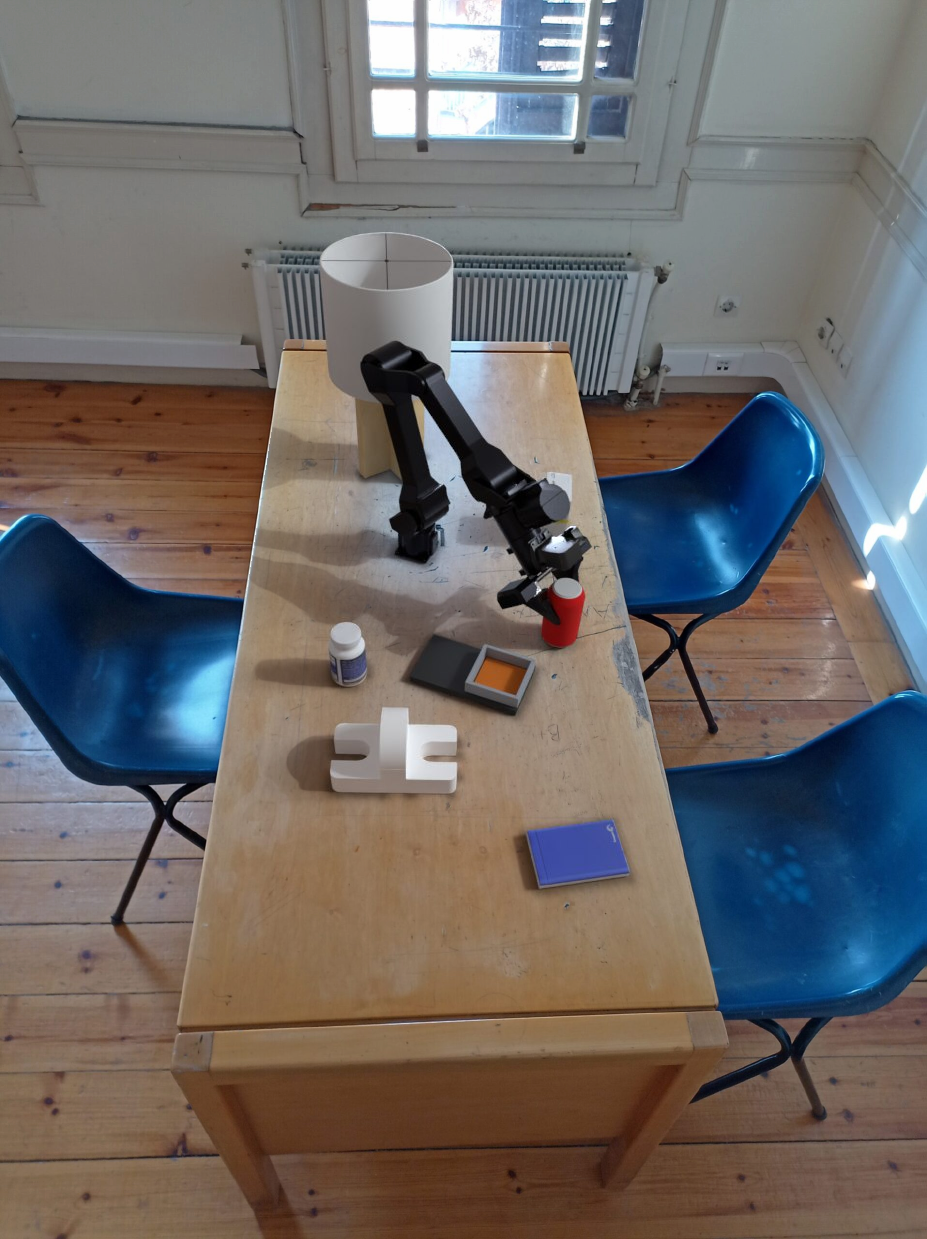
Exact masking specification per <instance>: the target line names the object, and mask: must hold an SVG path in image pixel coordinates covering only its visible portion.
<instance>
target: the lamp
mask: <svg viewBox="0 0 927 1239" xmlns="http://www.w3.org/2000/svg"><path fill="white" fill-rule="evenodd" d="M318 263H319V264H318V265H319V275H320V276H319V277H320V278H319V279H320V288H321V290H320V291H321V301H322V312H323V313H322V314H323V323H324V324H323V325H324V335H325V337H324V338H325V347H326V348H325V349H326V356H327V357H326V358H327V371H328V375H329V379H330V381H331V383H332V384H333V385H334V386H335V387H336V388H337V389H339V391H340V392H342V393H344V394H346V395H347V396H350V397H352V398H354V403H355V404H354V407H355V419H356V437H357V454H358V471H359V474H360V475H361V476H362V477H363V478H364V479H367V478H370V477H372V476H376V475H379V474H381V473H384V472H387V471H389V470H390V471H391V472H392V473H394V474H395V475H396V476H397V478H398V479H399V480H401V481H402V477H401V474H400V470H399V466H398V462H397V459H396V455H395V451H394V448H393V444H392V440H391V436H390V433H389V429H388V425H387V421H386V418H385V414H384V410H383V407H382V404H381V403H380V402H379V401H378V400H377V399H376V398H375V397H374V396H373V395H372V394H371V393H370V392H369V391H368V389H367V386H366V383H365V381H364V378H363V376H362V373H361V369H360V362H361V361H362V359H363V357H364V356H365V355H366V354H368V353H370V352H372V351H374V350H376V349H378V348H380V347H382V346H383V345H385V344H387V343H389V342H391V341H395V340H396V341H400V342H401V343H403V344H404V345H406V346H409V347H411V348H414V349H417V350H419V351H421V352H423V354H424V355H425V357H426V358H427V360H428V361H431V362H433V363H436V364H438V365H439V366H440V367H441V368H442V369H443V371H444V373H445V380H446V381H447V382H448V380H449V378H450V375H451V363H452V362H451V360H452V358H451V357H452V330H453V329H452V328H453V327H452V324H453V297H454V296H453V295H454V294H453V292H454V290H453V289H454V259H453V256H452V254H451V253H450V251H448V250H447V249H446V248H445V247H444V246H443V245H442V244H439V243H437V242H435V241H433V240H431V239H428V238H425V237H422V236H419V235H415V234H409V233H402V232H389V231H388V232H385V231H381V232H367V233H360V234H355V235H351V236H348V237H347V236H346V237H344V238H341V239H339V240H337V241H335V242H333V243H331V244H330V245H328V246H327V247H326V248H325V249H324V250H323V251H322V252H321V254H320V257H319V260H318ZM412 402H413V406H414V410H415V414H416V418H417V422H418V426H419V430H420V434H421V438H422V442H423V446H424V447H425V406H424V405H423V403H422V402H421V400H420V399H419V397H416V396H414V395H412Z"/></svg>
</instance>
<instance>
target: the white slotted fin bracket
mask: <svg viewBox="0 0 927 1239" xmlns="http://www.w3.org/2000/svg"><path fill="white" fill-rule="evenodd" d="M381 709H382V710H381V716H380V723H359V722H358V723H355V722H354V723H353V722H351V723H350V722H342V723H338V725H336V726H335V728H334V736H333V743H334V744H333V745H334V753H335V754H336V755H362V756H366V757H365V758H363V759H360V760H346V759H345V760H340V759H339V760H337V759H331V760H330V767H329V768H330V769H329V774H330V781H331V788H332V790H333V791H334V792H336V793H365V794H366V793H372V794H376V793H377V794H428V795H429V794H430V795H431V794H432V795H433V794H435V795H437V794H439V795H440V794H441V795H447V794H448V795H450V794H453V793H454V792H455V791H456V789H457V781H458V778H457V777H458V762H456V761H451V762H450V761H428V760H426V759H425V758H426V757H430V756H436V757H437V756H439V757H440V756H443V757H444V756H445V757H446V756H447V757H456V756H457V746H458V730H457V728H456V727H455V726H454V725H452V724H451V725H450V724H415V723H414V724H413V723H411V724H410V721H409V719H410V718H409V716H410V715H409V707H399V706H397V707H395V706H394V707H393V706H391V707H390V706H382V708H381Z"/></svg>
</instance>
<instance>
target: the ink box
mask: <svg viewBox="0 0 927 1239" xmlns="http://www.w3.org/2000/svg"><path fill="white" fill-rule="evenodd" d="M545 478H546V479H547V480H548V482H549V484H555V485H558V486H559V487H561V488H562V489H563V490H565V492H566V493H567V495H568V498H569V501H570V510H569V513H568V515H567V517H566V518H565V519H563V520H561V521H558V522H555V523H552V524H549V525H546V526H543V527H540V528H541V529H544V528H547V530H549V531H550V532H551V534H552V535H553V536H554V537H558V536H559V535H561V534H564V531H565V530H566V529H568V528H569V526H568V525H569V520H570V515H571V514H570V513H571V509H572V508H571V507H572V500H573V499H572V496H573V495H572V494H573V474H570V473H562V472H555V471H553V472H552V471H547V472H546V477H545Z"/></svg>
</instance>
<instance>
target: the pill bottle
mask: <svg viewBox="0 0 927 1239" xmlns="http://www.w3.org/2000/svg"><path fill="white" fill-rule="evenodd" d="M329 636H330V639H329V642H328V656H329V665H330V673H331V677H332V680H333V681H334V682H335V683H336V684H337V685H339V686H341V687H346V688H347V687H349V688H350V687H355V686H358V685H360V684H361V683H362V682H364V681H365V679H366V678H367V674H368V665H367V652H366V641H365V640H364V638H363V637H362V631H361V628H360V627H359V625H357V624H355V623H354V622H349V621H344V622H339V623H337V624H335V625H334V626H333V627H332V629H330V633H329Z"/></svg>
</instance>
